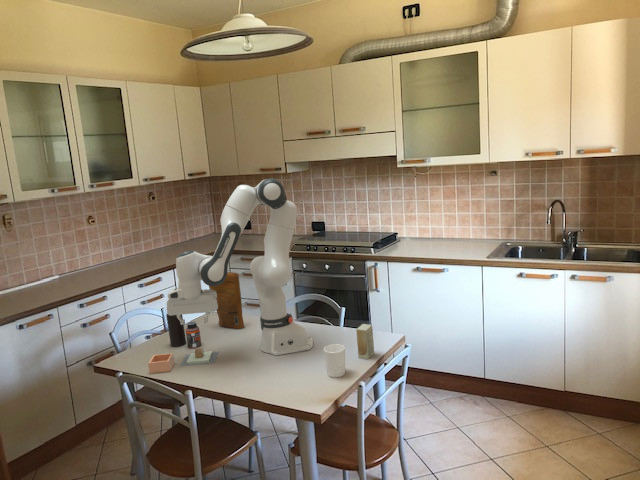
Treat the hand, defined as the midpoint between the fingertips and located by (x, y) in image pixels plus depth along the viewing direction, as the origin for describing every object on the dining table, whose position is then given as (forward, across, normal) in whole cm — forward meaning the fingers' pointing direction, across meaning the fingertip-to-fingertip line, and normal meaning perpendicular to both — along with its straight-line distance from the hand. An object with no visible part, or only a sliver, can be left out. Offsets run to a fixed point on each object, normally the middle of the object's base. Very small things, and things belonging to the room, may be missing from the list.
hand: (194, 323), depth 215 cm
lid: (+16, 0, 0) cm, 16 cm away
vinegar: (+16, +13, -19) cm, 28 cm away
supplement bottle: (+16, +5, -15) cm, 23 cm away
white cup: (+16, -55, +25) cm, 63 cm away
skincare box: (+16, -68, +12) cm, 71 cm away
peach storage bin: (+16, +14, +6) cm, 22 cm away
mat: (+16, 0, 0) cm, 16 cm away
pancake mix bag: (+16, -8, -37) cm, 41 cm away
